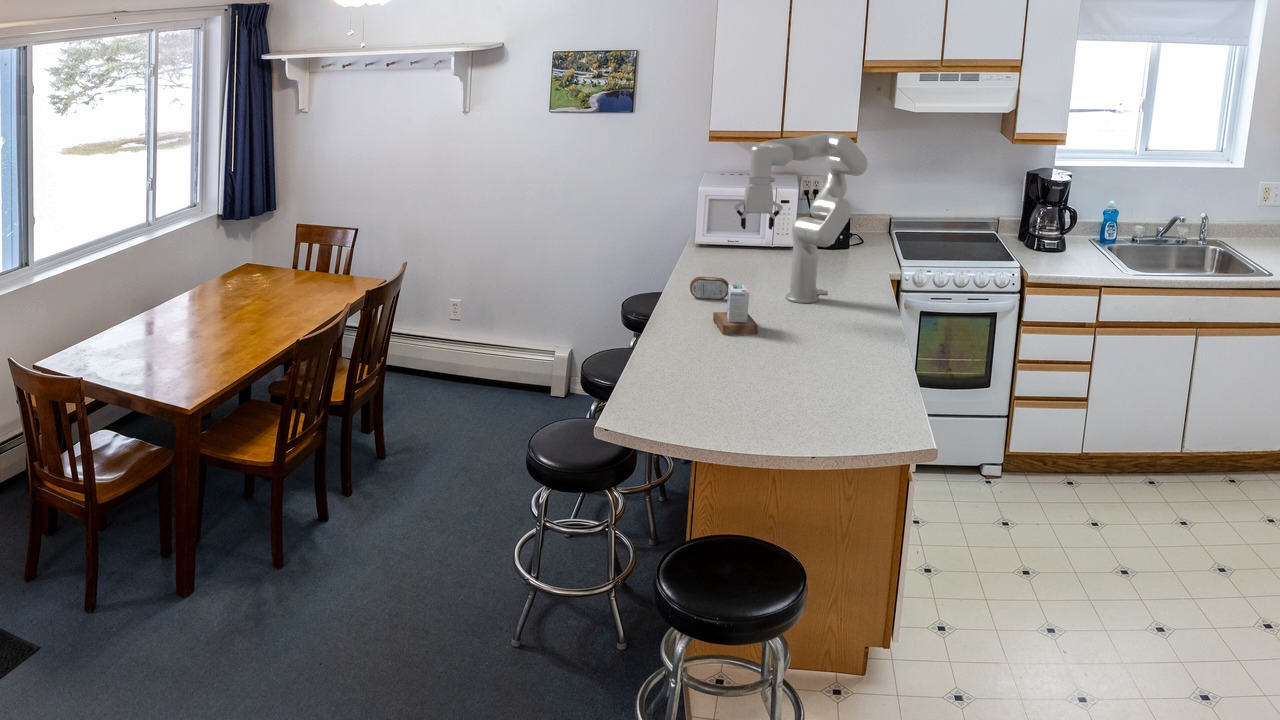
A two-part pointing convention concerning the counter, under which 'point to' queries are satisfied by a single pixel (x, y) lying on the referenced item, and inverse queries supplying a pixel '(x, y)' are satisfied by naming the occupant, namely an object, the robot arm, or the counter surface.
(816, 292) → the robot arm
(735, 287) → the light bulb box
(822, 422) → the counter surface
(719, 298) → the tin
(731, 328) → the walnut block
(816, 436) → the counter surface
